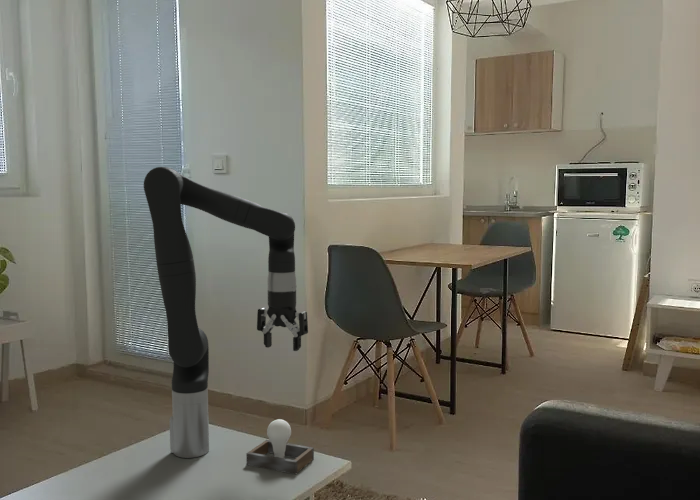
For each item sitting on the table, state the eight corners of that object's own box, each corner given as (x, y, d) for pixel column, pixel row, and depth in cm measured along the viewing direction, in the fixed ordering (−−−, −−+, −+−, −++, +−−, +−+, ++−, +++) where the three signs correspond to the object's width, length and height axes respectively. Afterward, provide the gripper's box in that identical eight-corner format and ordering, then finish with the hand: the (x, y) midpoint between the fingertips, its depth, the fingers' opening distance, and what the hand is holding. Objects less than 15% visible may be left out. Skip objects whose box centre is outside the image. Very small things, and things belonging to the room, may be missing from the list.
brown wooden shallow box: (246, 464, 173) (246, 453, 172) (266, 450, 182) (266, 439, 181) (295, 474, 167) (295, 462, 167) (313, 458, 176) (313, 447, 176)
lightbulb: (287, 467, 171) (287, 424, 170) (264, 465, 172) (263, 423, 171) (294, 457, 177) (293, 416, 176) (271, 455, 178) (271, 415, 177)
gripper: (251, 288, 179) (251, 349, 181) (298, 292, 173) (299, 354, 175) (266, 284, 186) (266, 343, 188) (312, 288, 180) (312, 348, 182)
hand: (282, 348), depth 181 cm, fingers open, 8 cm apart
